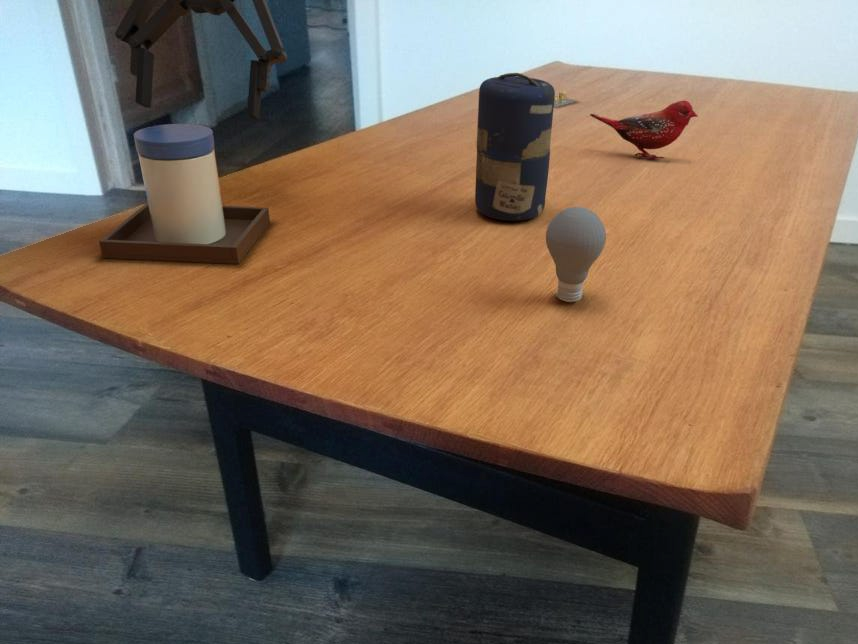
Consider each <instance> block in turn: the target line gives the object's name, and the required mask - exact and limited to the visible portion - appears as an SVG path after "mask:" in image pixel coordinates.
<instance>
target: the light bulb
mask: <svg viewBox="0 0 858 644" xmlns="http://www.w3.org/2000/svg"><path fill="white" fill-rule="evenodd" d="M606 241H607V231H606V228H605V225H604V223H603V221H602V220H601V217H599V216H598V214H596V213H595V212H594V211H593V210H590V209H588V208H587V207H582V206H571V207H567V208H564V209H562V210H561V211H559V212H558V213H557V214H556V215H555V216H554V217H553V218H552V219H551V221H550V222H549V224H548V226H547V228H546V231H545V244H546V247H547V250H548V252H549V254H550V257H551V258H552V260H553V263H554V265H555V274H556V278H557V279H558V281H557V285H558V286H557V292H556V297H557V298H558V299H559V300H561V301H563V302H566V303H574V302H578V301H580V300H581V299H582V296H583V289H584V282H585V280H586V279H587V278H588V276H589V272H590V269H591V267H592V266H593V265H594V264H595V262H596V261H597V259H598V258H599V257H600V256H601V254H602V252H603V251H604V248H605V245H606V243H607V242H606Z"/></svg>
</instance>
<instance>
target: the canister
mask: <svg viewBox="0 0 858 644" xmlns="http://www.w3.org/2000/svg"><path fill="white" fill-rule="evenodd" d="M478 89H479V90H478V108H477V127H476V128H477V129H476V131H477V132H476V163H475V190H474V204H475V207H476V209H477V210H478V212H480V213H481V214H482V215H484V216H486V217H488V218H491V219H493V220H494V219H495V220H500V221H506V222H507V221H510V222H515V221H526V220H530V219H534V218H536V217H538V216H539V215H541V214H542V212H544V209H545V207H546V195H547V188H548V179H549V172H550V171H549V170H550V157H551V140H552V129H553V119H554V107H555V106H554V101H555V97H556V90H555V88H554V86H553V85H552V84H551V83H550V82H548V81H545V80H542V79H538V78H534V77H529V76H527V75H525V74H523V73H519V72H508V73H503V74H500V75H499V76H494V77H490V78H487V79H485V80H483V81H482V82H481V84H480V86H479V88H478ZM554 90H555V91H554Z"/></svg>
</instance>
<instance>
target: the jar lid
mask: <svg viewBox="0 0 858 644" xmlns="http://www.w3.org/2000/svg"><path fill="white" fill-rule="evenodd" d="M133 139H134V140H133V141H134V144H135V150H136V152H137V155H138V154H140V155H142V156H145V157H149V158H156V159H182V158H190V157H196V156H200V155H204V154H207V153H209V152H211V151H213V150H214V151H215V148H216V146H215V145H216V144H215V138H214V132H213V129H211V127H208V126H205V125H201V124H195V123H194V124H193V123H167V124H157V125H152V126H147V127H144V128H140V129H139V130H136V131H135V132H134V133H133Z"/></svg>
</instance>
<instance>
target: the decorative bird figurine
mask: <svg viewBox="0 0 858 644" xmlns="http://www.w3.org/2000/svg"><path fill="white" fill-rule="evenodd" d="M589 116H591V117H592V118H594V119H596V120H597V121H599V122H602V123H604V124H605V125H607V126H609V127H611V128H612V129H613V130H615V132H616V133H617V134H618V135H619V136H620V137H621V138H622V139H623V140H625V141H627V142H629V143H630V144H632V145H633V146H635V147H636V148H637V149H638V150H639V151H640V152H637V153H635V154H634V156H638V158H645V159H646V158H647V159H650V160H656V159H657V160H659V159H663V160H665V159H666V157H664V156H657V155H656V154H650V153H649V152H647V151H646V150H658V149H663V148H665V147H668V146H669V145H671V144H672V143H673V142H675V141H677V140H678V138H679V137H680V136H681V135H682V134H683V131H684V130H685V128H686V127H687V126H689V123H690V121H691V118H696V117H697V118H698V114H697V112H695V111H694V108H693V106H692V104H691V103H690V102H689V101H687V100H679V101H676V102H672V103H671V104H669V105H668V106H667V107H665V108H663V109H661V110H659V111H655V112H650V113H643V114H638V115H633V116H629V117H626V118H622V119H619V120H617V119H612V118H608V117H605V116H602V115H598V114H595V113H590V114H589Z"/></svg>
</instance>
